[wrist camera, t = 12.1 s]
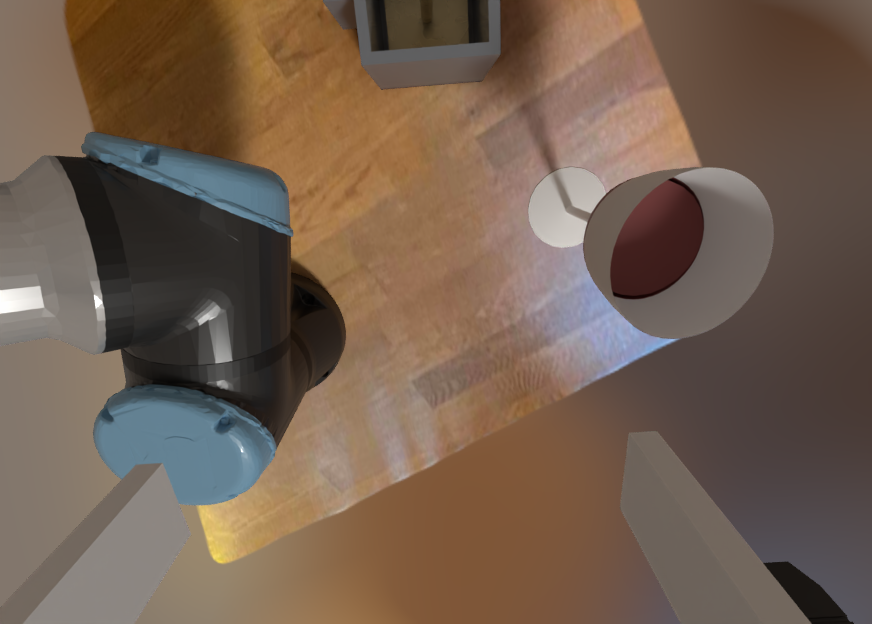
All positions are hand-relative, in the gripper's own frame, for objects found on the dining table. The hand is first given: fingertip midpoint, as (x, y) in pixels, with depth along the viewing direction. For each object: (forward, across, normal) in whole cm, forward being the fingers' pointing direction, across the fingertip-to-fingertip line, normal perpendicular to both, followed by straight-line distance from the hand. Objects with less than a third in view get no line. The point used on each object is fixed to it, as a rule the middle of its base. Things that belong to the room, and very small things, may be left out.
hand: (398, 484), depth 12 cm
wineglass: (+37, +16, +2) cm, 40 cm away
